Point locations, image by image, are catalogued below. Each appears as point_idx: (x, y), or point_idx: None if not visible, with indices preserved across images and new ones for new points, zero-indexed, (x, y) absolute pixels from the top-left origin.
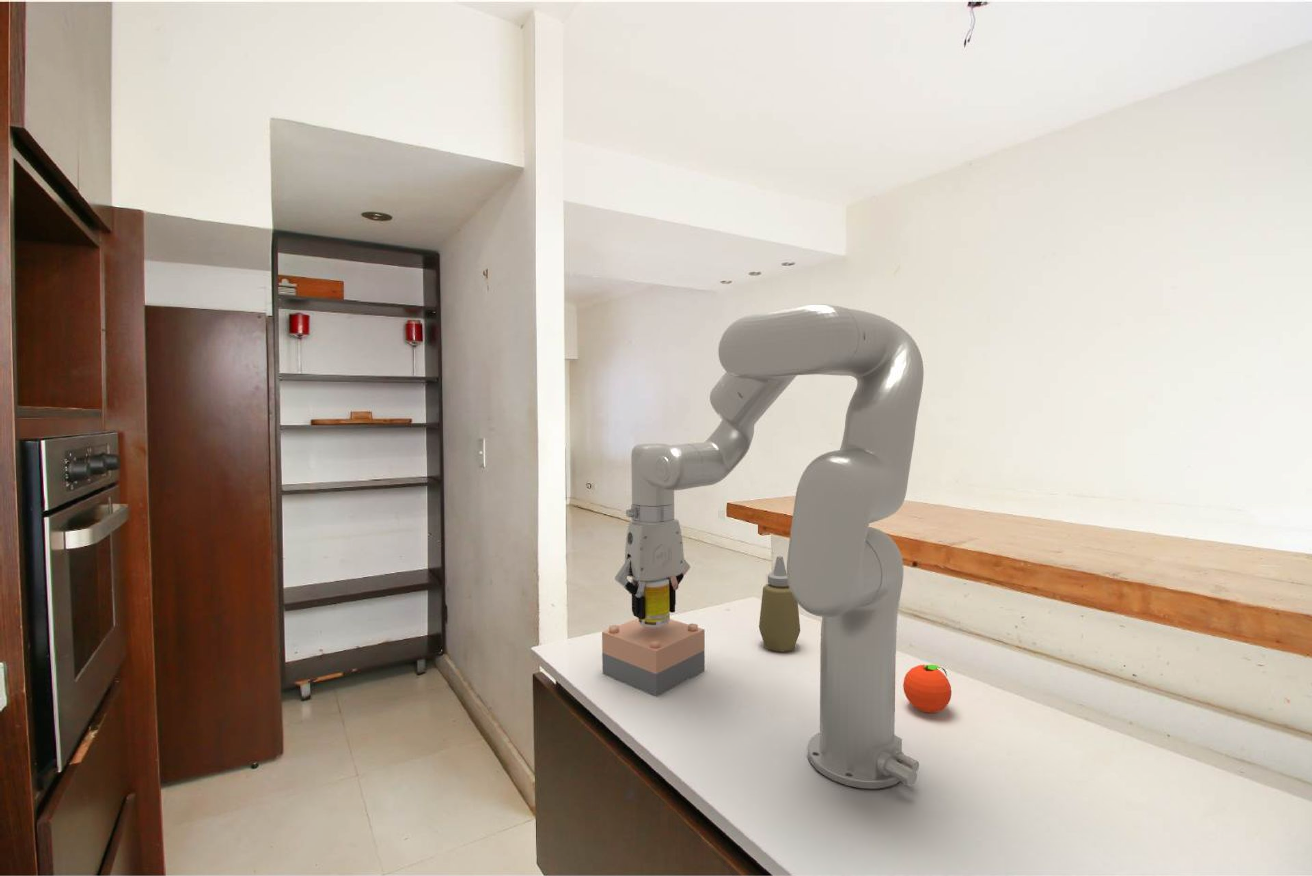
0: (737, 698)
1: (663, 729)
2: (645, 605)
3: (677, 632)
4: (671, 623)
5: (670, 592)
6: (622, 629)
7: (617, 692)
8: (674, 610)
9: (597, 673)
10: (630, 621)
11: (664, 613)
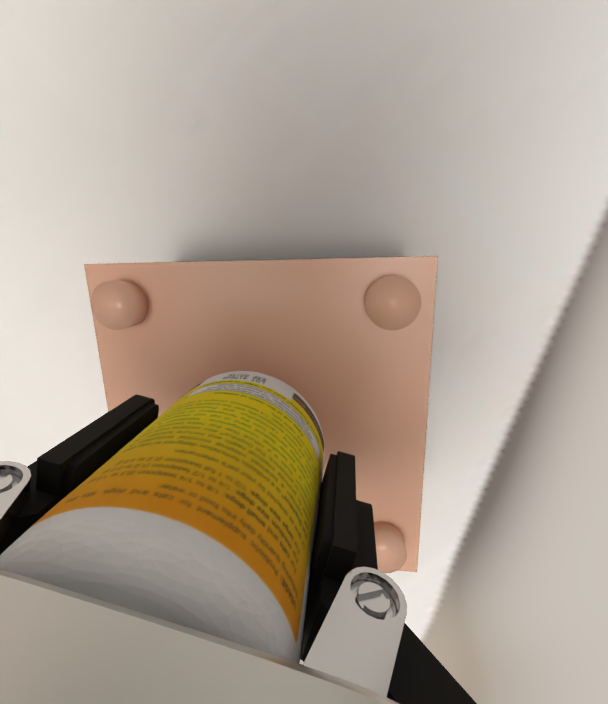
0: (240, 46)
1: (561, 85)
2: (314, 502)
3: (199, 334)
4: None
5: (77, 474)
6: None
7: (457, 362)
8: (137, 397)
9: None
10: None
11: (231, 393)
